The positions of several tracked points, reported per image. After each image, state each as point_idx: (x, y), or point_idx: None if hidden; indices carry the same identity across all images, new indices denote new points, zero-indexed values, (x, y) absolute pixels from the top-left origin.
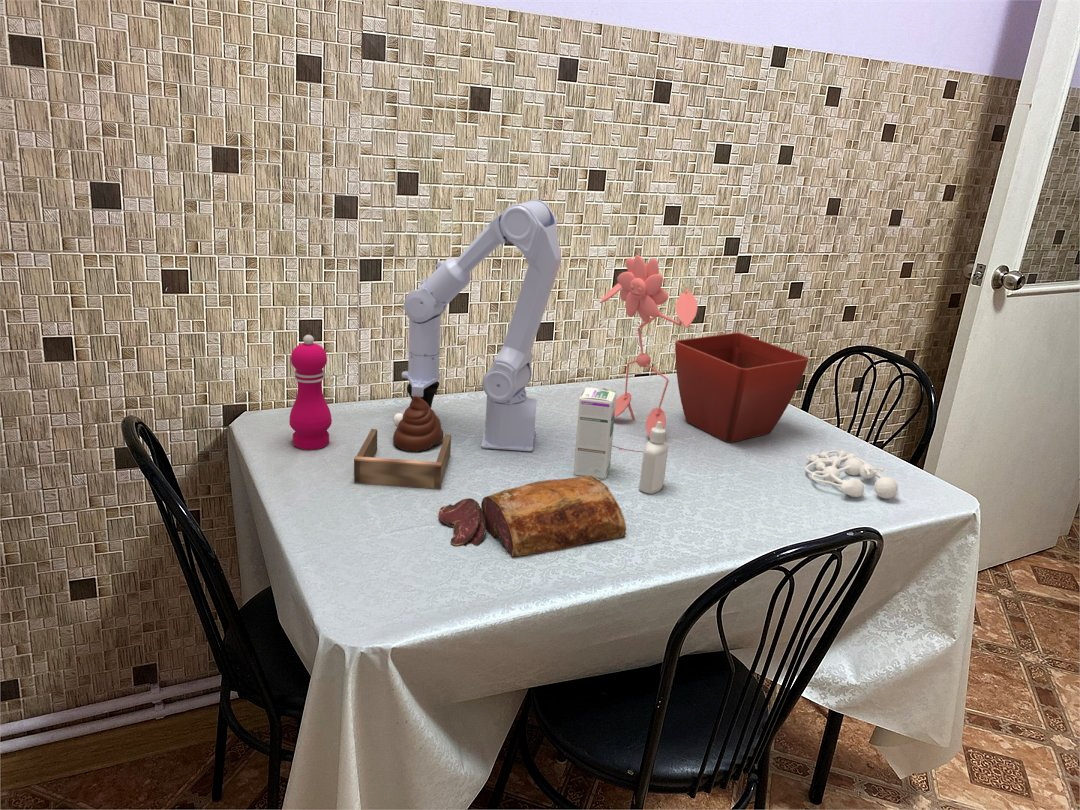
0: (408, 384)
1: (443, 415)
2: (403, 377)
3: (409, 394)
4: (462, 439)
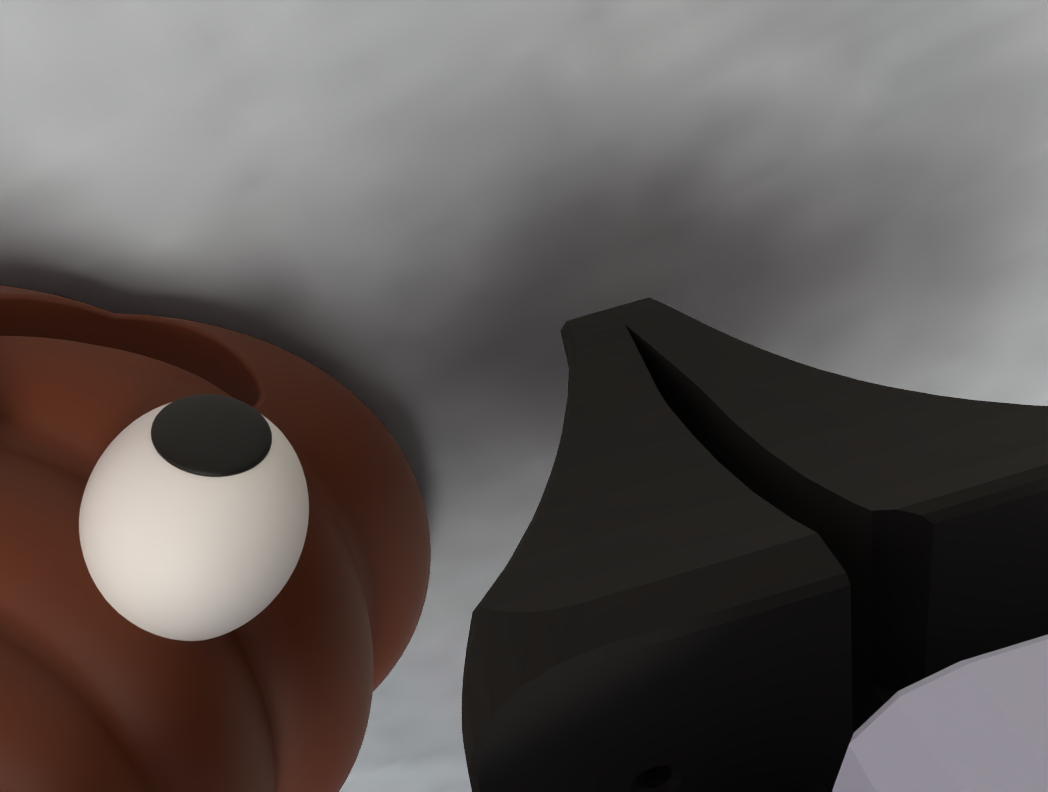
0: (799, 603)
1: (956, 389)
2: (840, 774)
3: (498, 582)
4: (425, 741)
